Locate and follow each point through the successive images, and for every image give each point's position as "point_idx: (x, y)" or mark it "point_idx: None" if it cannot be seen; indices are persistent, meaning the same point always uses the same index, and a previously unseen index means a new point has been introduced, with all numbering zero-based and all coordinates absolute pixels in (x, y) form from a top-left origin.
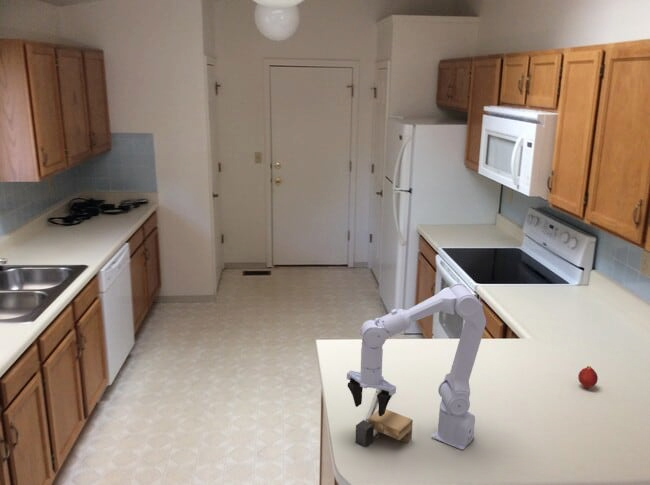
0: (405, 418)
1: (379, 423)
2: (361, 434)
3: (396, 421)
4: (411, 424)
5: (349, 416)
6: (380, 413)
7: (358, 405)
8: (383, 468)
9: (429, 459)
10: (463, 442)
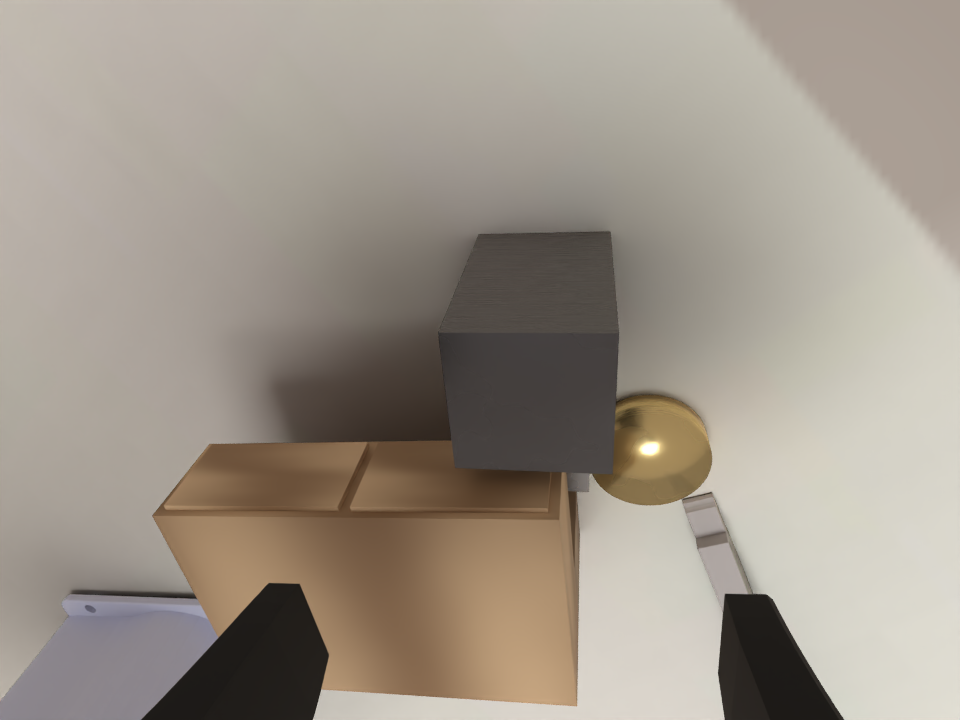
0: None
1: (400, 509)
2: (522, 289)
3: None
4: None
5: (904, 507)
6: (233, 624)
7: (724, 630)
8: (139, 100)
9: (79, 432)
10: (53, 641)
